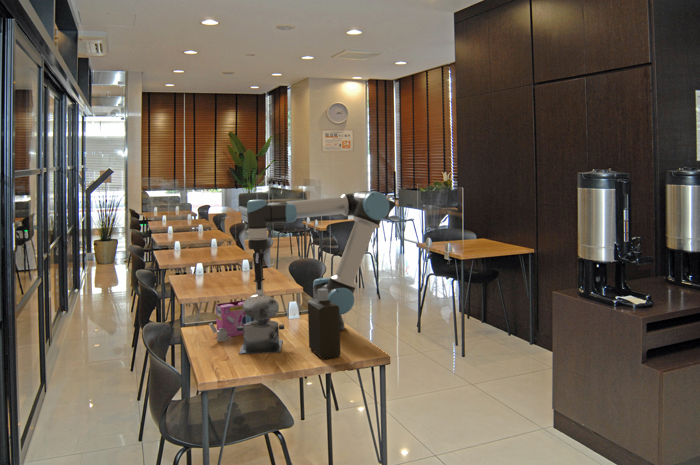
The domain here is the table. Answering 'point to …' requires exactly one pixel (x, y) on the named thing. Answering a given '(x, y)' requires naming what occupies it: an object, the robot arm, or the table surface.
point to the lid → (260, 307)
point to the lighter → (219, 333)
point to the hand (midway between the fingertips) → (259, 297)
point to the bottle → (324, 326)
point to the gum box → (232, 317)
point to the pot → (261, 337)
